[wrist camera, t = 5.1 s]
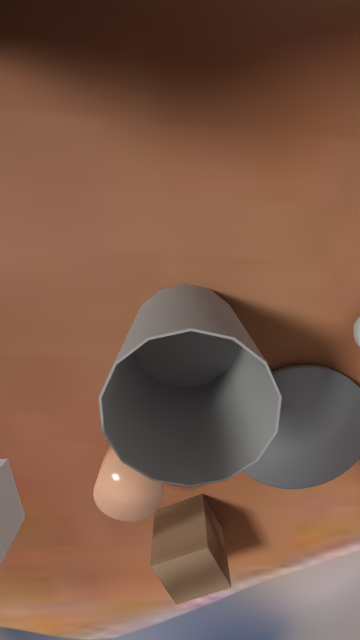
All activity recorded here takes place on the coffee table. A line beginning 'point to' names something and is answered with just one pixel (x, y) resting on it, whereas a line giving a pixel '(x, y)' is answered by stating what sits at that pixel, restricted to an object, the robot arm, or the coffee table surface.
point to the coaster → (311, 429)
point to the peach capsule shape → (125, 490)
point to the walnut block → (189, 550)
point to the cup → (189, 391)
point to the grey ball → (357, 331)
